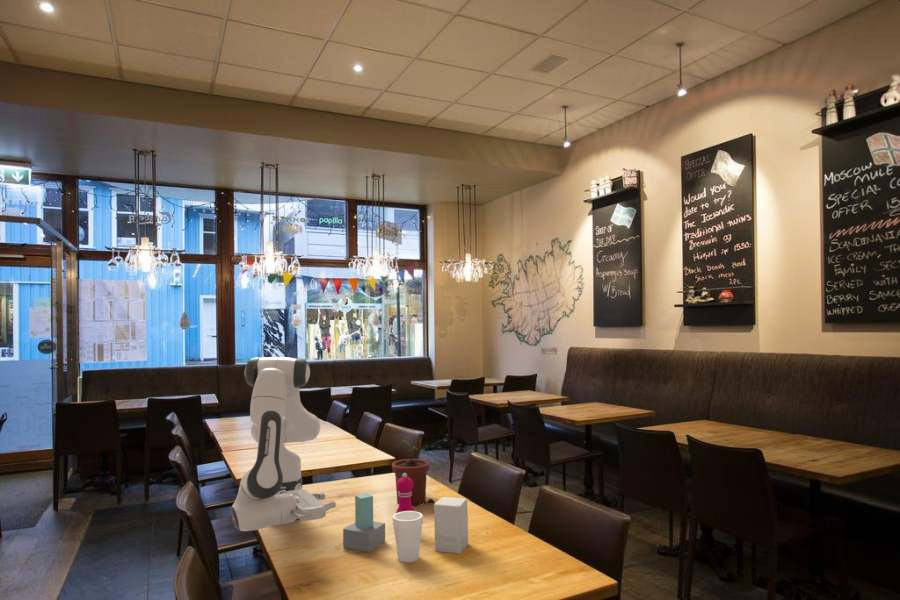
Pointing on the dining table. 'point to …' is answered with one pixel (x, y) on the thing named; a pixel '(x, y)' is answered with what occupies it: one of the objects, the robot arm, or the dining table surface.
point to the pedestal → (364, 537)
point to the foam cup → (408, 534)
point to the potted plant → (413, 476)
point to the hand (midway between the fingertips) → (329, 499)
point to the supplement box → (451, 524)
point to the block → (364, 510)
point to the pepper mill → (404, 493)
